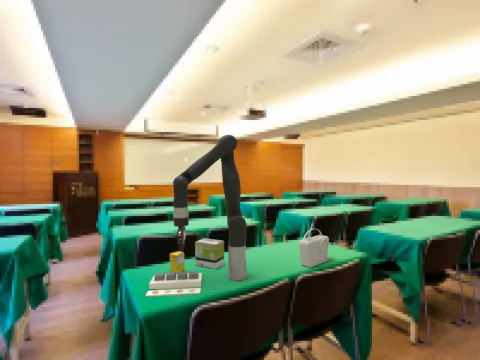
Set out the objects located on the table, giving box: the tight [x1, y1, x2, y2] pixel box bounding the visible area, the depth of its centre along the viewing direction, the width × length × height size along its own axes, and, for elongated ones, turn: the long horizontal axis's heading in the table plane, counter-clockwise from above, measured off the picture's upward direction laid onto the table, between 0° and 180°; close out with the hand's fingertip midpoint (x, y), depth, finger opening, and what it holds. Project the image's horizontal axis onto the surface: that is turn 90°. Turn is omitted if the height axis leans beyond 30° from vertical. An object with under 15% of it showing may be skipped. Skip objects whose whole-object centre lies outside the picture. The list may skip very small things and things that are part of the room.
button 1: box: [188, 270, 199, 279], centre depth 138 cm, size 4×4×3 cm
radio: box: [298, 223, 330, 269], centre depth 164 cm, size 22×8×25 cm, turn 129°
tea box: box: [194, 237, 225, 270], centre depth 165 cm, size 15×10×15 cm
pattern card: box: [145, 287, 202, 297], centre depth 128 cm, size 25×5×1 cm, turn 95°
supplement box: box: [169, 250, 186, 274], centre depth 154 cm, size 6×6×11 cm
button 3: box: [165, 271, 176, 280], centre depth 137 cm, size 4×4×3 cm
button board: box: [148, 272, 203, 290], centre depth 138 cm, size 25×11×3 cm, turn 95°
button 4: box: [153, 272, 166, 281], centre depth 137 cm, size 4×4×3 cm
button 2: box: [178, 270, 188, 280], centre depth 138 cm, size 4×4×3 cm
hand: (181, 249), depth 137 cm, fingers open, 5 cm apart
